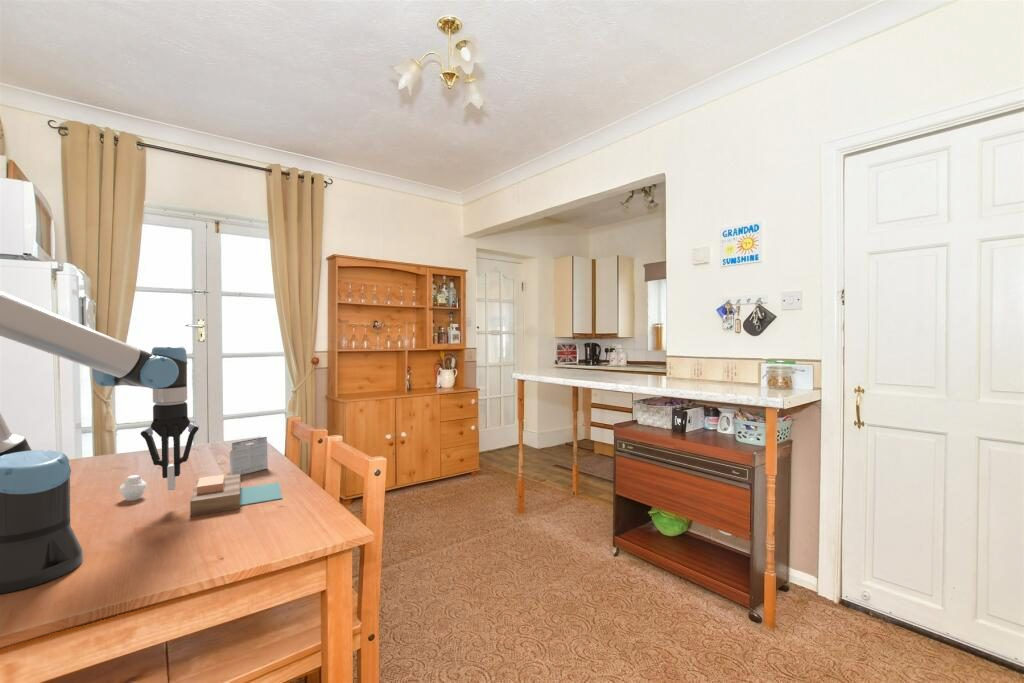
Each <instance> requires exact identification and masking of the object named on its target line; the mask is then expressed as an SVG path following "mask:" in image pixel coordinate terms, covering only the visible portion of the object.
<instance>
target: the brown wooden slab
mask: <svg viewBox="0 0 1024 683" xmlns="http://www.w3.org/2000/svg"><path fill="white" fill-rule="evenodd" d="M198 482H199V479H196V482H195V485H194V486H195V487H194V489H193V492H192V495H191V497H190V498H191V499H190V500H189V501H190V505H189V506H190V507H189V508H190V509H189V510H190V512H189V513H190V518H191V517H197V516H198V517H199V516H203V515H208V514H209V515H210V514H214V513H220V512H226V511H231V510H238V509H240V507H241V506H240V488H241V475H240V474H238V475H231V474H230V475H224V487H223V490H222V491H216V492H209V493H202V494H197V485H198Z"/></svg>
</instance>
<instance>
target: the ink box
mask: <svg viewBox="0 0 1024 683" xmlns="http://www.w3.org/2000/svg"><path fill="white" fill-rule="evenodd" d="M249 443H251V444H249ZM252 443H253V444H252ZM229 466H230V467H229V468H230V476H231V475H238V474H240V476H242V475H247V474H251V473H254V472H255V473H256V472H258V471H259V472H260V471H263V470H264V471H265V470H268V466H269V465H268V437H267V436H263V437H258V438H253V439H248V440H246V439H245V440H242V441H237V442H236V441H235V442H231V450H230V451H229Z"/></svg>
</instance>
